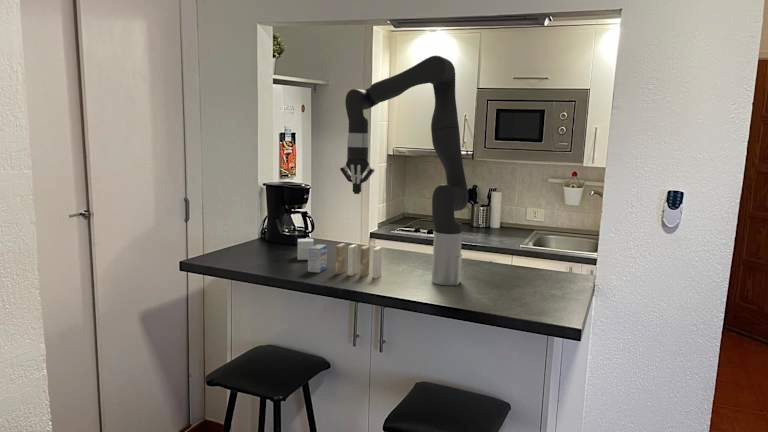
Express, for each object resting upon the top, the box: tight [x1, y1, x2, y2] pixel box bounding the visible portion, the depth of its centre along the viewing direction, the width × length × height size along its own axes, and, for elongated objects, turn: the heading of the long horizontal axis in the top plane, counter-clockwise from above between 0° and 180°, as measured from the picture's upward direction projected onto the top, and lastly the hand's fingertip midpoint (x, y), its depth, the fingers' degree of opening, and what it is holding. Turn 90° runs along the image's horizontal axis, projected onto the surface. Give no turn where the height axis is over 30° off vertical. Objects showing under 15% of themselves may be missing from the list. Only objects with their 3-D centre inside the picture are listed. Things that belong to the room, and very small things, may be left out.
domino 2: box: [347, 244, 359, 277], centre depth 204 cm, size 2×5×10 cm, turn 163°
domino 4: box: [371, 246, 383, 279], centre depth 202 cm, size 2×5×10 cm, turn 163°
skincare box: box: [297, 238, 315, 261], centre depth 227 cm, size 6×6×7 cm
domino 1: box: [335, 242, 347, 275], centre depth 206 cm, size 2×5×10 cm, turn 163°
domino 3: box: [359, 245, 371, 278], centre depth 203 cm, size 2×5×10 cm, turn 163°
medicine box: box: [307, 243, 328, 274], centre depth 208 cm, size 8×4×9 cm, turn 167°
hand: (356, 193), depth 214 cm, fingers closed
